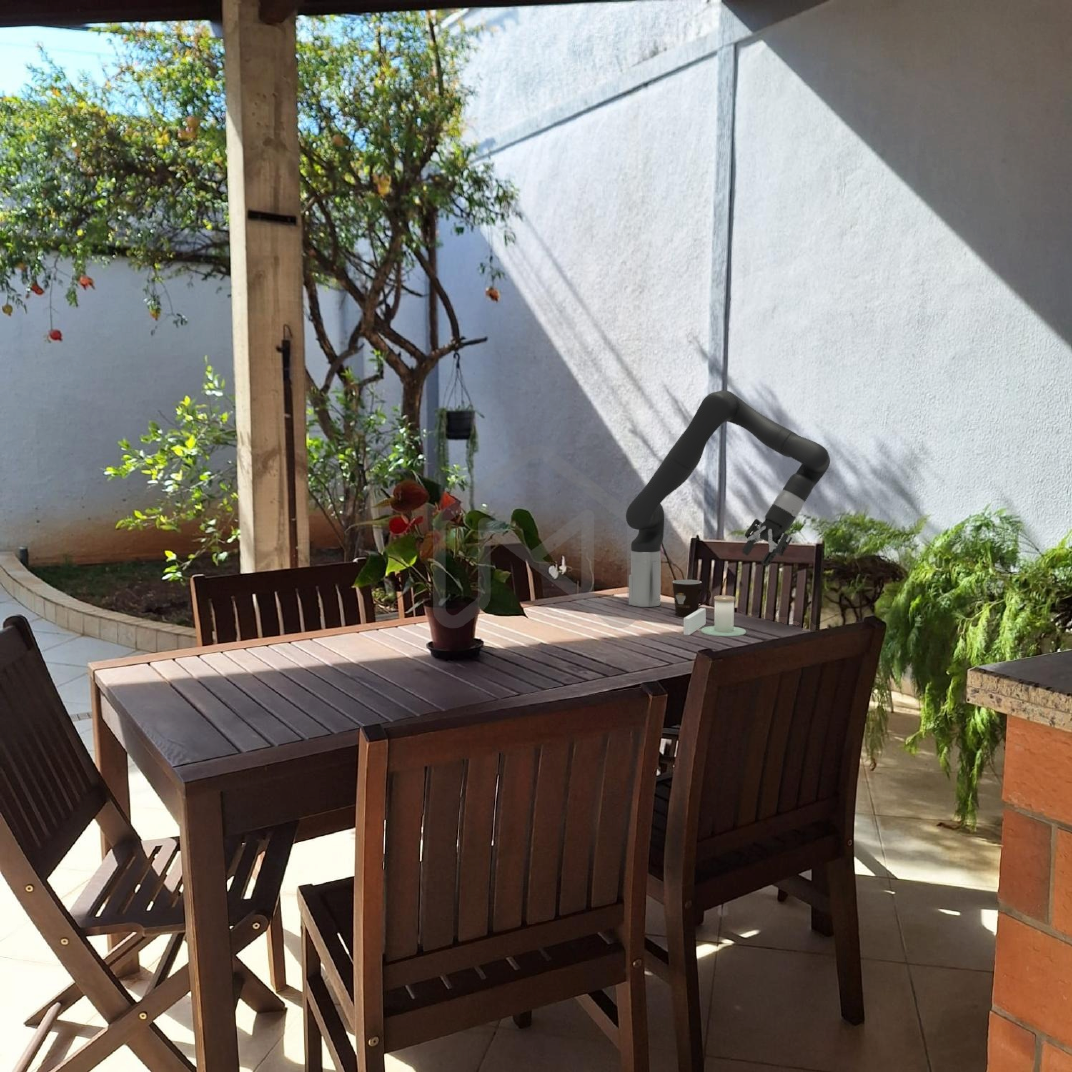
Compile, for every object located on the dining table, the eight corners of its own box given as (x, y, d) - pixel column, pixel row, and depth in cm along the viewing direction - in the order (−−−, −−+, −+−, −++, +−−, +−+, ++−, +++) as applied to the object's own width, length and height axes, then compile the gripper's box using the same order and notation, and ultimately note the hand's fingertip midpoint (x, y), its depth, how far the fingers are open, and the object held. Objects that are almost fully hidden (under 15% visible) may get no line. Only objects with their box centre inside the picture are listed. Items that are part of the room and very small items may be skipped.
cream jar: (711, 631, 262) (711, 598, 261) (716, 627, 267) (717, 594, 265) (731, 633, 259) (731, 599, 258) (736, 629, 264) (736, 596, 263)
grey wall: (683, 634, 260) (683, 618, 259) (700, 623, 274) (700, 608, 274) (688, 635, 259) (689, 618, 259) (705, 624, 273) (705, 608, 273)
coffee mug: (666, 613, 289) (666, 580, 288) (690, 611, 293) (690, 578, 292) (688, 620, 279) (688, 586, 278) (713, 618, 282) (713, 584, 281)
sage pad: (695, 634, 260) (695, 632, 260) (707, 625, 271) (707, 624, 271) (739, 638, 255) (739, 636, 255) (750, 629, 266) (750, 627, 266)
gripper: (760, 496, 272) (730, 545, 273) (794, 512, 261) (762, 563, 262) (776, 507, 277) (746, 556, 278) (810, 523, 265) (778, 573, 266)
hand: (754, 559), depth 270 cm, fingers open, 8 cm apart
